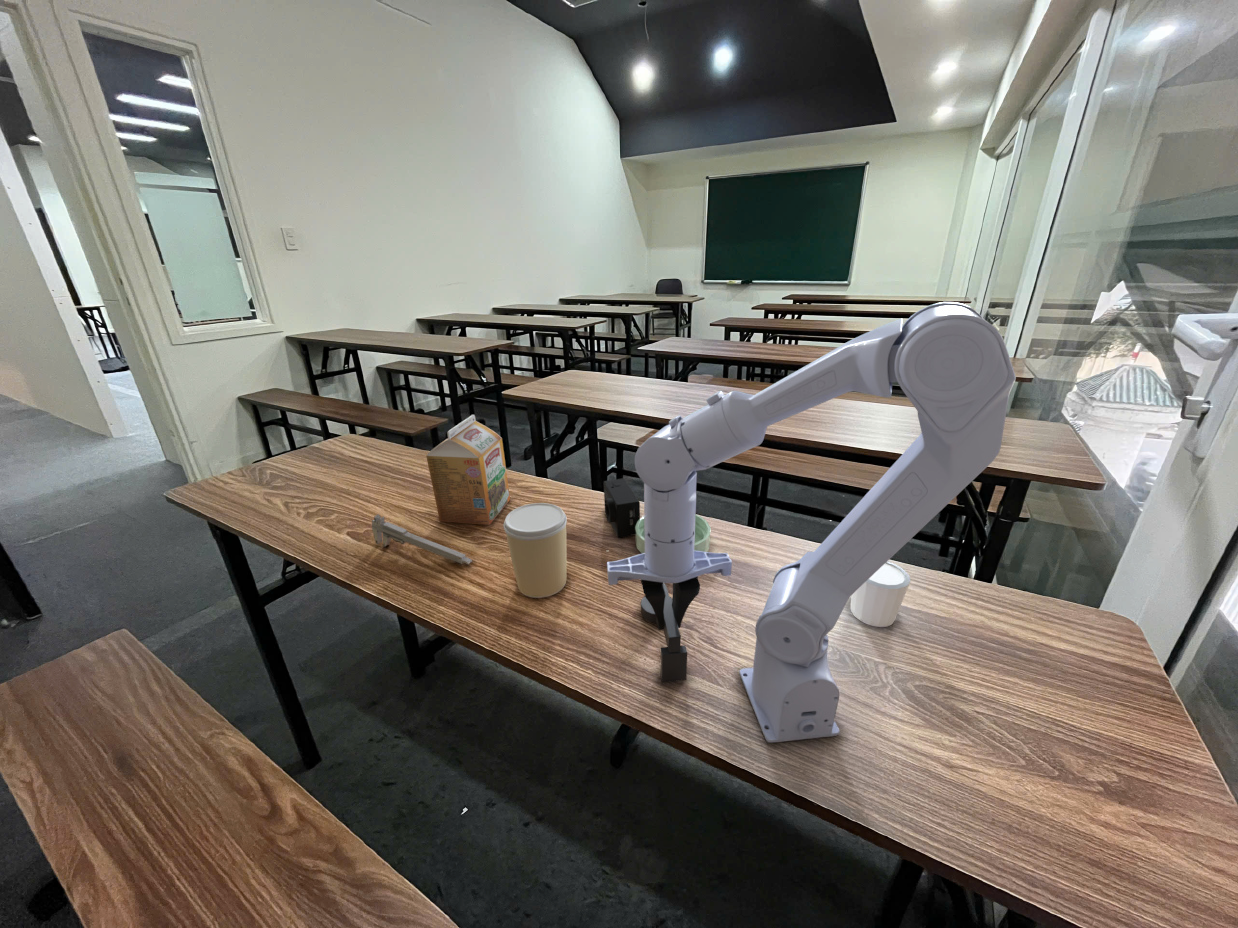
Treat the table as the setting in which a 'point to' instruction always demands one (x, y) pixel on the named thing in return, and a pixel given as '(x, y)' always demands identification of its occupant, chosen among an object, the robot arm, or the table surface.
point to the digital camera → (621, 507)
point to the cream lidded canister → (538, 548)
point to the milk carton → (469, 474)
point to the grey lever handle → (668, 641)
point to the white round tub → (881, 596)
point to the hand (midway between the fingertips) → (668, 623)
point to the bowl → (700, 534)
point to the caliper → (412, 540)
